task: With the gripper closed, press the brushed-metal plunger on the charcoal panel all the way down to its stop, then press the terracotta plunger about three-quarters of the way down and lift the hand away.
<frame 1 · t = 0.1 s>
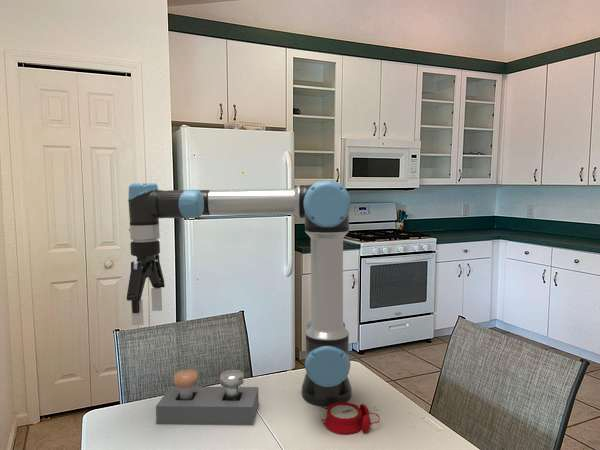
hand: (148, 317, 123), 28 cm above the table, tool pointing down, fingers open, 13 cm apart
metal plunger: (232, 387, 125), point 8 cm above the table, slide at 0.0 cm
terracotta plunger: (186, 386, 126), point 8 cm above the table, slide at 0.0 cm
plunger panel: (209, 413, 126), on the table
alarm clock: (350, 425, 119), on the table
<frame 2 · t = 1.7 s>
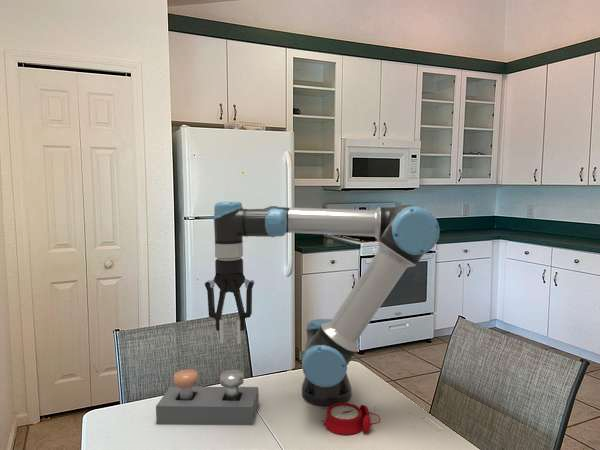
hand: (231, 341, 124), 21 cm above the table, tool pointing down, fingers open, 4 cm apart
nothing on the table moved.
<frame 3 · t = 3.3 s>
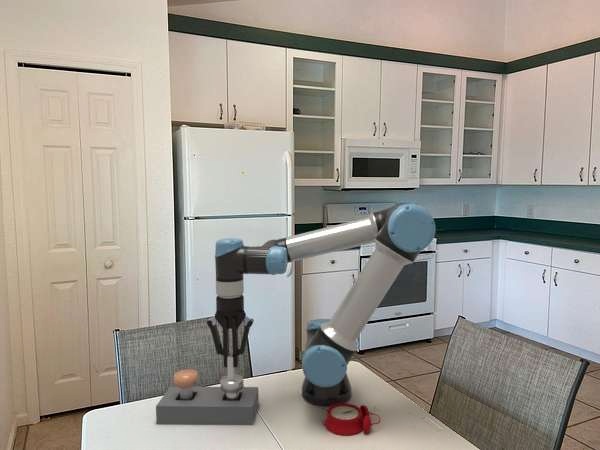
hand: (231, 378, 125), 10 cm above the table, tool pointing down, fingers closed
metal plunger: (232, 391, 125), point 6 cm above the table, slide at 1.4 cm, touching gripper
everything else where it was.
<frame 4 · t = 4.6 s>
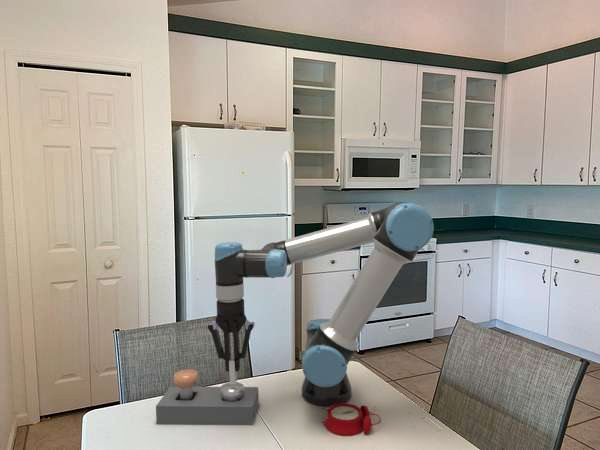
hand: (233, 382, 125), 9 cm above the table, tool pointing down, fingers closed
metal plunger: (232, 399, 125), point 4 cm above the table, slide at 3.7 cm
everything else where it was.
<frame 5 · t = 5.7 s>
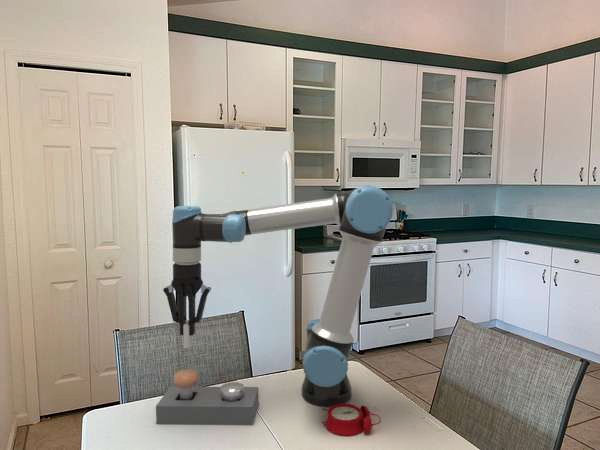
hand: (187, 346, 125), 19 cm above the table, tool pointing down, fingers closed
nothing on the table moved.
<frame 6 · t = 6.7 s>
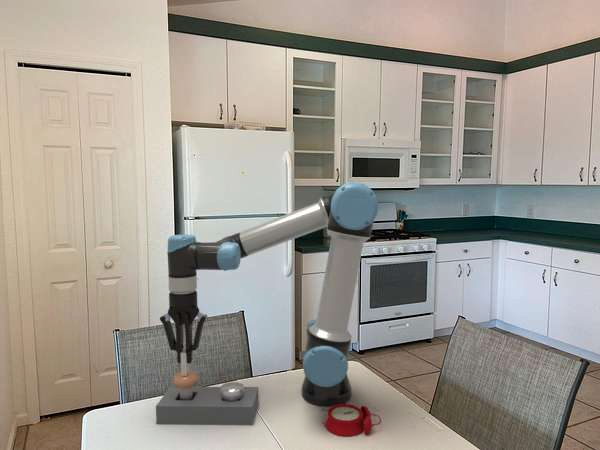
hand: (185, 373, 125), 11 cm above the table, tool pointing down, fingers closed
terracotta plunger: (186, 387, 126), point 7 cm above the table, slide at 0.3 cm, touching gripper
everything else where it was.
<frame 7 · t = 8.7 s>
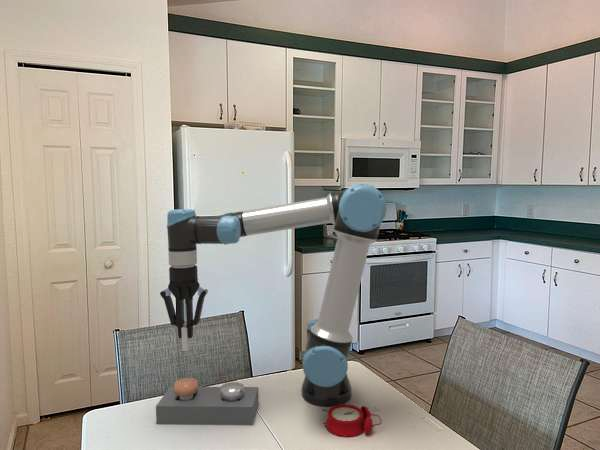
hand: (186, 349, 125), 18 cm above the table, tool pointing down, fingers closed
terracotta plunger: (186, 395, 126), point 5 cm above the table, slide at 2.5 cm
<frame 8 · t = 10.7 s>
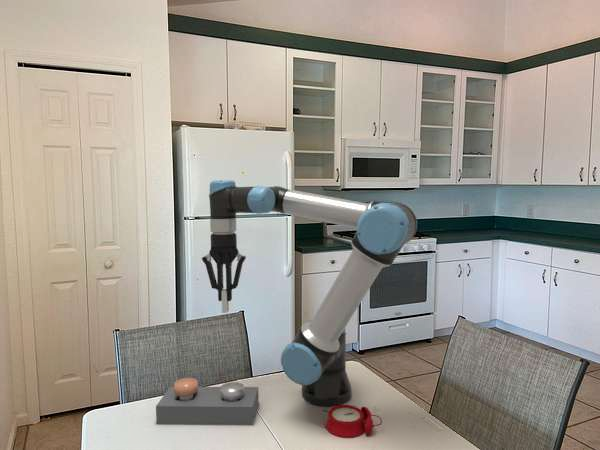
hand: (225, 311, 134), 26 cm above the table, tool pointing down, fingers closed
at the end: metal plunger slide at 3.7 cm; terracotta plunger slide at 2.5 cm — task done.
